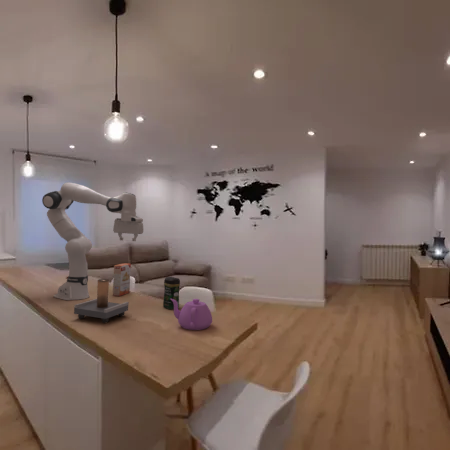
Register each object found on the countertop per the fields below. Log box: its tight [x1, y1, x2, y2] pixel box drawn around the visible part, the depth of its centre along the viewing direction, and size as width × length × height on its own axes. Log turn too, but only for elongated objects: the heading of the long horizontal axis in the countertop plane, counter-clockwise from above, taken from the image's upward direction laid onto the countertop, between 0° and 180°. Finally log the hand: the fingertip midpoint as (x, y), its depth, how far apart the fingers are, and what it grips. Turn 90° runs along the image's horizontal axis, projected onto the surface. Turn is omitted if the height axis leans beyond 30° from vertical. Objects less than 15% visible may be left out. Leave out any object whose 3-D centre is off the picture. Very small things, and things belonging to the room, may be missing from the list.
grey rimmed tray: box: [73, 298, 129, 324], centre depth 177 cm, size 20×18×7 cm
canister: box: [96, 278, 110, 308], centre depth 177 cm, size 6×6×14 cm
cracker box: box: [112, 262, 132, 297], centre depth 233 cm, size 14×6×21 cm, turn 168°
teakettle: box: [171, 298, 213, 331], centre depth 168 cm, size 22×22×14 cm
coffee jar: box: [162, 276, 181, 310], centre depth 202 cm, size 10×8×19 cm
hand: (127, 240), depth 208 cm, fingers open, 8 cm apart
